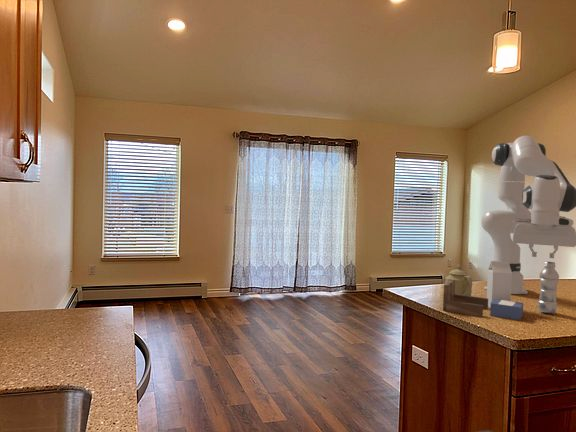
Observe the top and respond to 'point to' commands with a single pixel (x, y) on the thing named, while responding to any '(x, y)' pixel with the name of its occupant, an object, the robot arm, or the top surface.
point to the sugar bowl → (460, 281)
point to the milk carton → (499, 281)
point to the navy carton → (506, 309)
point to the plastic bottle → (548, 288)
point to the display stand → (462, 301)
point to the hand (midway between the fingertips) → (542, 257)
